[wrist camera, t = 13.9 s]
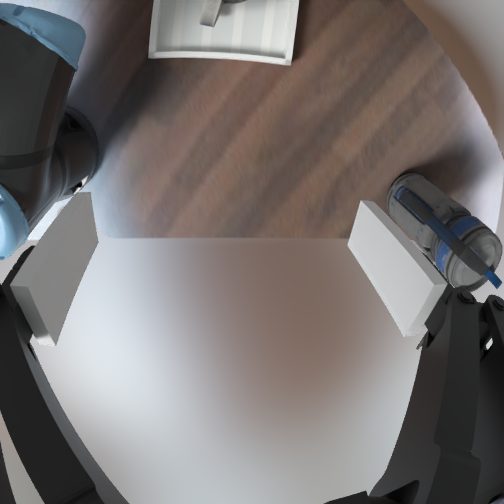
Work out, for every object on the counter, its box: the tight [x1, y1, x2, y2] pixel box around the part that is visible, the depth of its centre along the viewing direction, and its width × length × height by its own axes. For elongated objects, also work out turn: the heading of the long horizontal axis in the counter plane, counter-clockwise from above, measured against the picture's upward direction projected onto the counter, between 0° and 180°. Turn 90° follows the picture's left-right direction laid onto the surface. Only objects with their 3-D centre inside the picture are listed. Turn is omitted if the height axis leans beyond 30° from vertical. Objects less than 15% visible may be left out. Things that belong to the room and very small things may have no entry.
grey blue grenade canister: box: [387, 173, 502, 292], centre depth 41 cm, size 10×13×25 cm
